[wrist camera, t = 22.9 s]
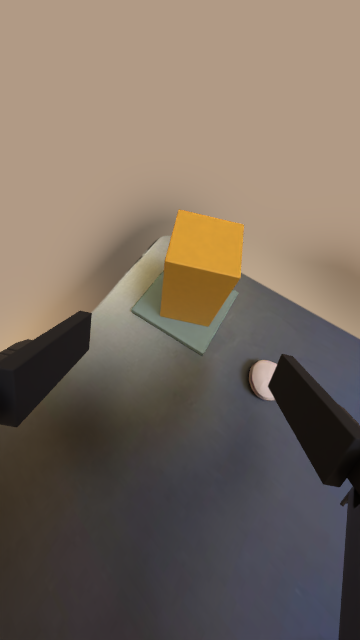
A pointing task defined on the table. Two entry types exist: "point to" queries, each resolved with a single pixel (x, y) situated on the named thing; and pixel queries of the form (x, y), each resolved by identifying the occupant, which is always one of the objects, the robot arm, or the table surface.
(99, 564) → the table surface
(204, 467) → the table surface
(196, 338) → the coaster
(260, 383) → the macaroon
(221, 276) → the yellow block
